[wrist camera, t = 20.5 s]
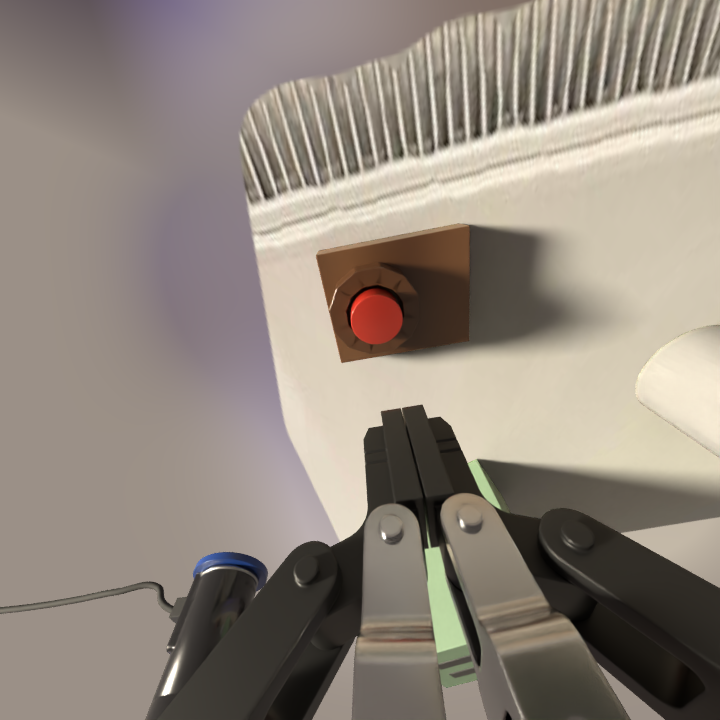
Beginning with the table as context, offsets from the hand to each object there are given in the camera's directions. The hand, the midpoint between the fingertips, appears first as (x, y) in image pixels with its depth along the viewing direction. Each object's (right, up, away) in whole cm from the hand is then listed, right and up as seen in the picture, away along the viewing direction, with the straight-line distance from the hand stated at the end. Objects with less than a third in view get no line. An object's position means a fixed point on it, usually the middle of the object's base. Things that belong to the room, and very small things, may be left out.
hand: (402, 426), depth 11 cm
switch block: (+1, +8, +14) cm, 16 cm away
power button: (0, +6, +11) cm, 12 cm away
